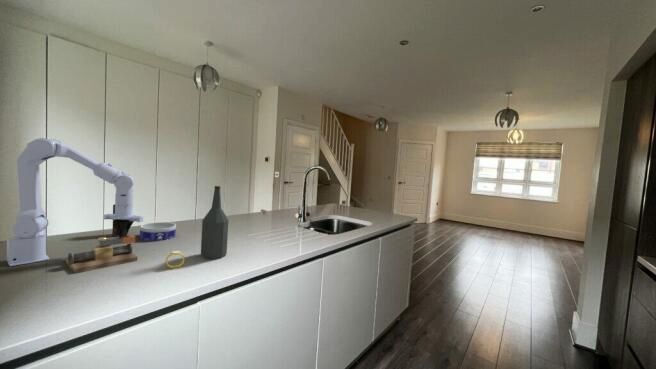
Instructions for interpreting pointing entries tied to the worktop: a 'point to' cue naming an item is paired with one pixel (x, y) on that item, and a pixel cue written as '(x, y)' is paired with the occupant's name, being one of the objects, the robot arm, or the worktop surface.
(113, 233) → the deodorant
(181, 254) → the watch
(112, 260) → the valve board
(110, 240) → the valve lever
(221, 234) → the bottle
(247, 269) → the worktop surface
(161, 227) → the dog bowl
